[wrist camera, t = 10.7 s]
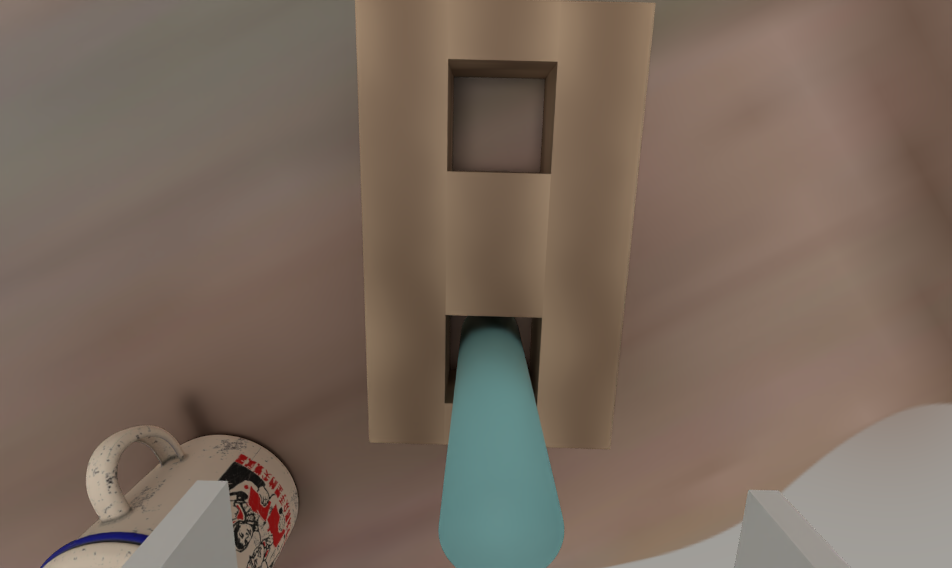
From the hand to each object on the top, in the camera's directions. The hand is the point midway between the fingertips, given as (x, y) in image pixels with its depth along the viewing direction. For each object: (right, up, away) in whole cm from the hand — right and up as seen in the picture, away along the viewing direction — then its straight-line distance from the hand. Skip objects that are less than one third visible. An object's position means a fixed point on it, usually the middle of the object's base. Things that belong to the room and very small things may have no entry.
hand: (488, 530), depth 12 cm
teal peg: (0, +4, +15) cm, 15 cm away
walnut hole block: (+1, +9, +13) cm, 16 cm away
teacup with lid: (-16, -5, +17) cm, 24 cm away
